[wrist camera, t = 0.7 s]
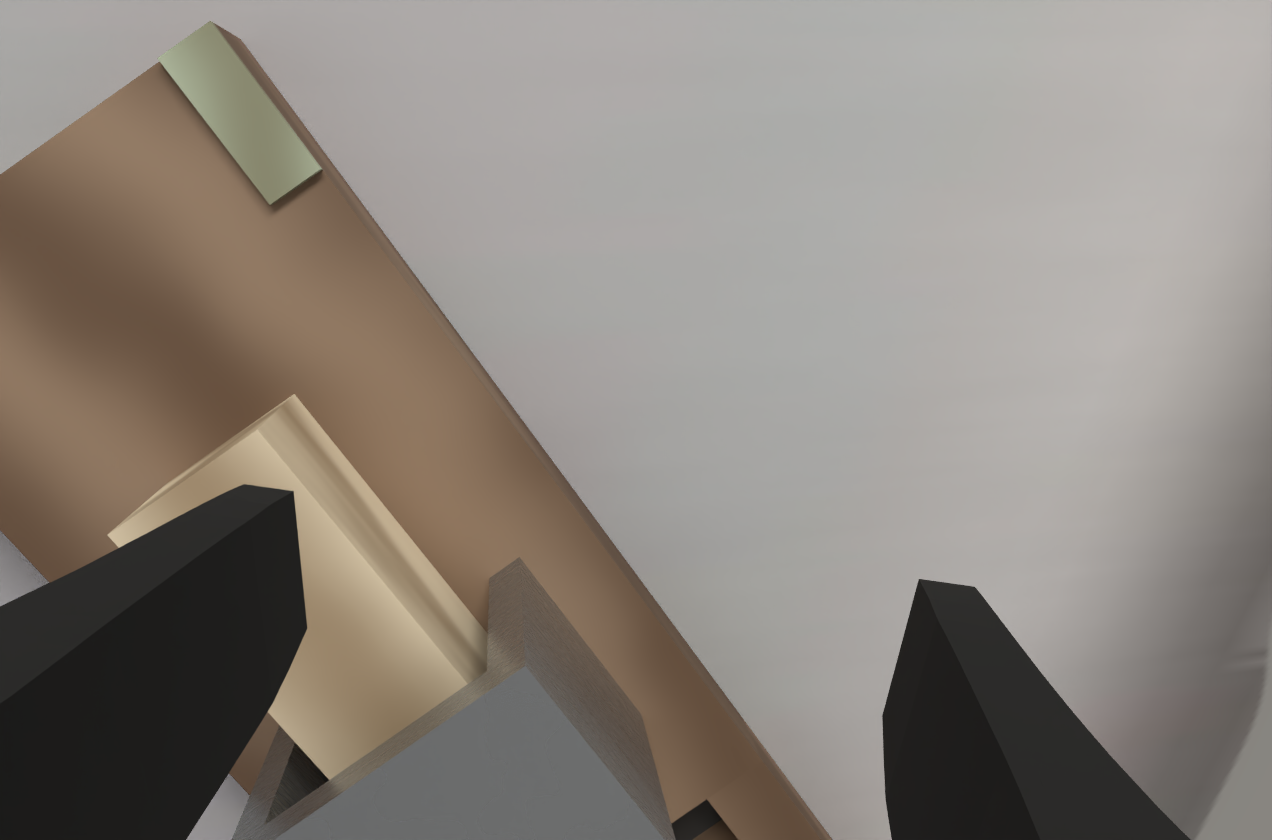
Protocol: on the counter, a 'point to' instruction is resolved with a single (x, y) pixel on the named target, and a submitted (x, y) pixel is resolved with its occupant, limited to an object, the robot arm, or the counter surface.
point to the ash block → (340, 591)
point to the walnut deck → (302, 389)
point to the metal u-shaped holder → (487, 752)
